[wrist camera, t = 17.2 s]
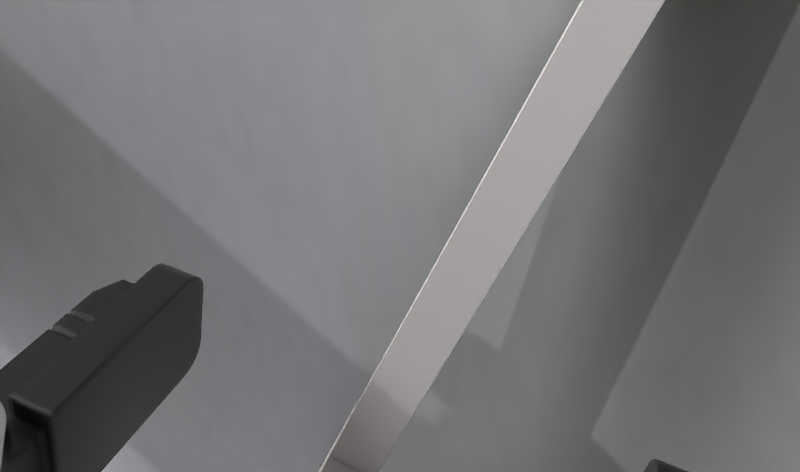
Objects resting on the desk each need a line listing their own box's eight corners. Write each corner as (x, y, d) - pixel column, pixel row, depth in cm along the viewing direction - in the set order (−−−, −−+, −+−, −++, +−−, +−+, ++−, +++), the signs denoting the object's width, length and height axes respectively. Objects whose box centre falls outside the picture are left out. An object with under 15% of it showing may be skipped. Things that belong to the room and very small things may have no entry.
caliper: (331, 518, 22) (224, 745, 17) (298, 500, 22) (182, 720, 17) (815, -261, 10) (954, -295, 5) (739, -299, 10) (796, -371, 5)
